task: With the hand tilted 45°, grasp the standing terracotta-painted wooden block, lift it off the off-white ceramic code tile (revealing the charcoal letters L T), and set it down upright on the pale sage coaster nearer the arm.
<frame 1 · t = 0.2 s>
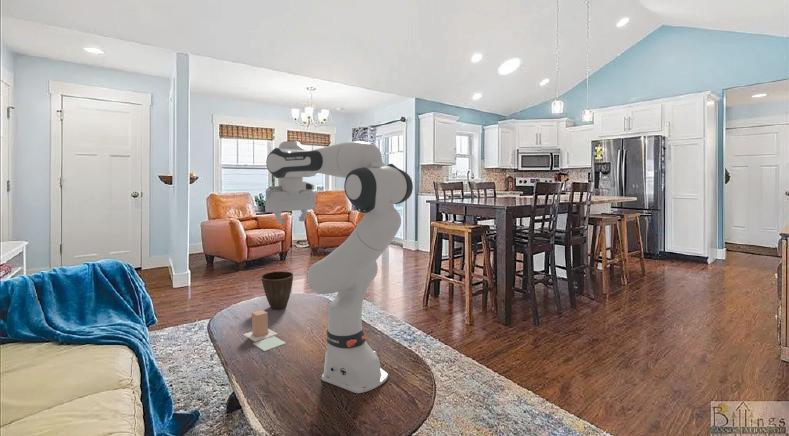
hand: (291, 222, 145), 47 cm above the table, tool pointing down, fingers open, 8 cm apart
code tile: (260, 334, 157), on the table
coaster: (269, 344, 148), on the table
plant pot: (278, 307, 189), on the table
block: (260, 333, 157), resting on code tile
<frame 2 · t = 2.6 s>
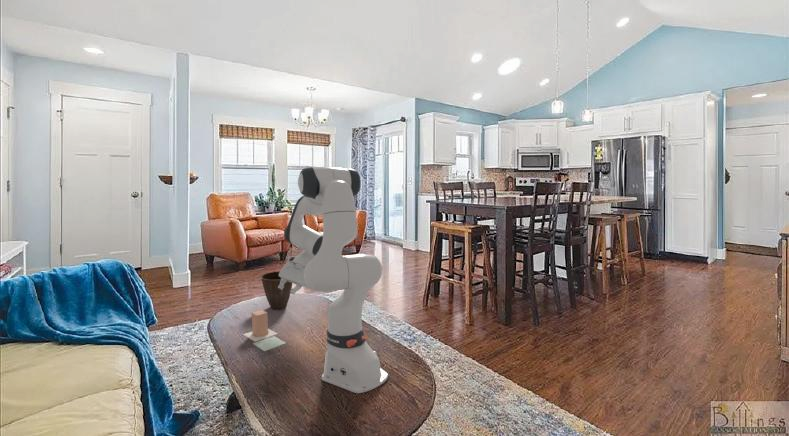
hand: (285, 291, 164), 16 cm above the table, tool tilted 45°, fingers open, 8 cm apart
nothing on the table moved.
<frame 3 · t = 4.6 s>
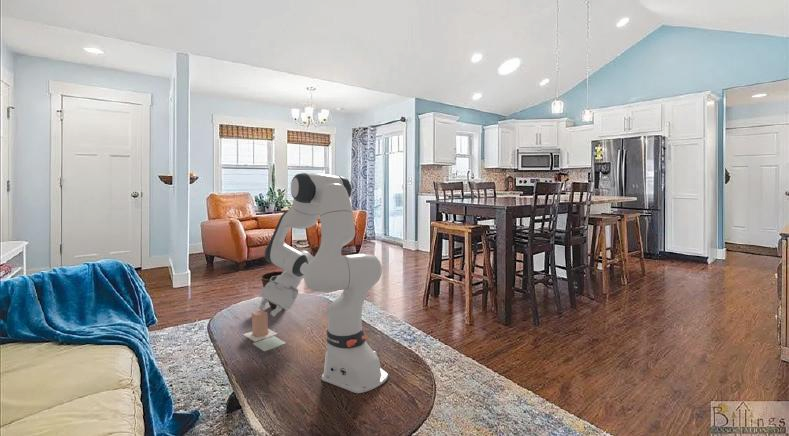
hand: (266, 312, 159), 8 cm above the table, tool tilted 45°, fingers open, 8 cm apart
nothing on the table moved.
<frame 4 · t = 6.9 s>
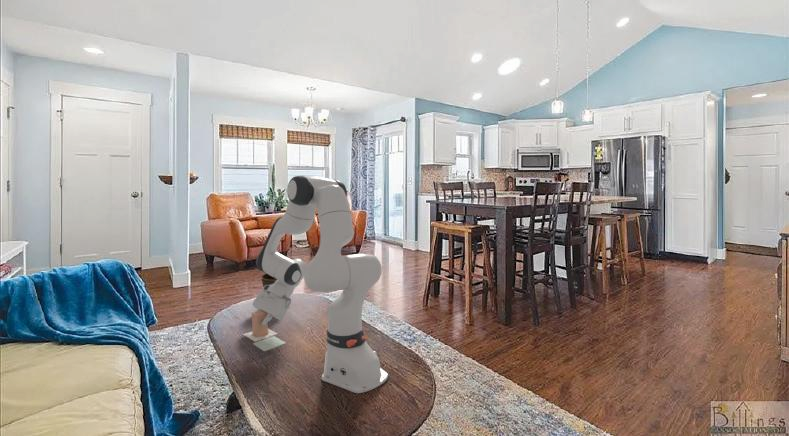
hand: (258, 322, 156), 5 cm above the table, tool tilted 45°, fingers closed on block, 4 cm apart
block: (260, 333, 157), resting on code tile, touching gripper
everything else where it was.
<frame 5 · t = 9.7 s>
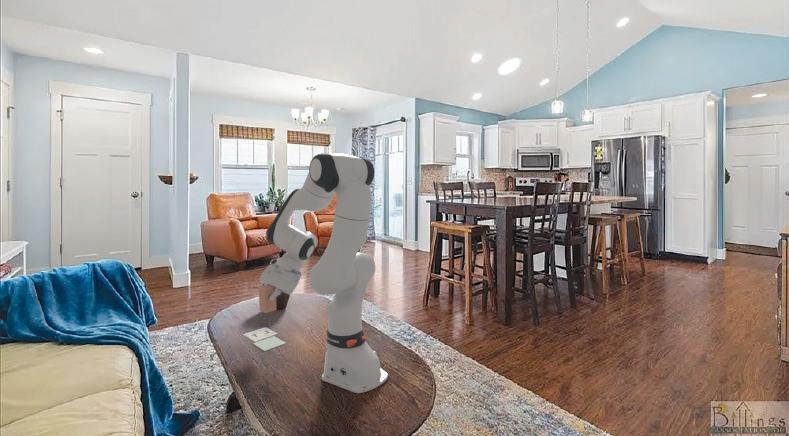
hand: (265, 297, 145), 19 cm above the table, tool tilted 45°, fingers closed on block, 4 cm apart
block: (268, 310, 146), point 14 cm above the table, touching gripper
everything else where it was.
when the fingers open (7 cm above the table, at t = 12.5 s): block drops 1 cm, resting on coaster.
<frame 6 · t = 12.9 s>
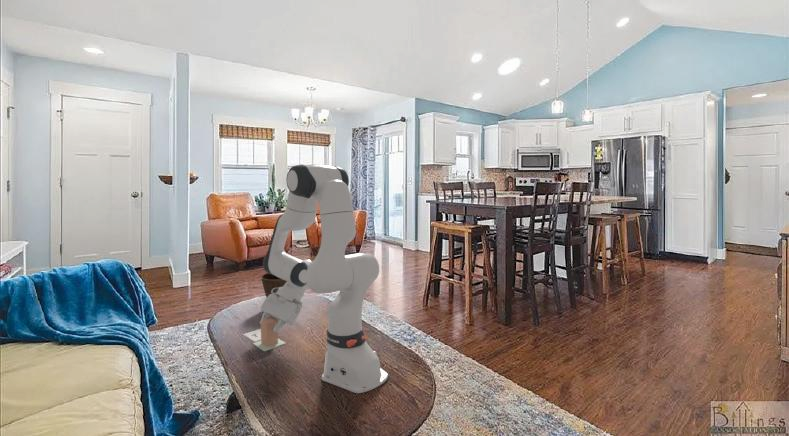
hand: (267, 327, 146), 7 cm above the table, tool tilted 45°, fingers open, 8 cm apart
block: (269, 343, 148), point 1 cm above the table, touching coaster
everything else where it was.
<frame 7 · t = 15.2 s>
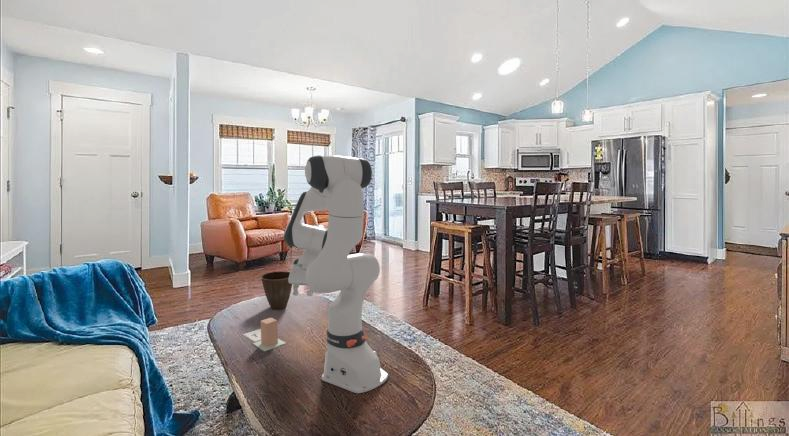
hand: (301, 295, 155), 16 cm above the table, tool tilted 30°, fingers open, 8 cm apart
nothing on the table moved.
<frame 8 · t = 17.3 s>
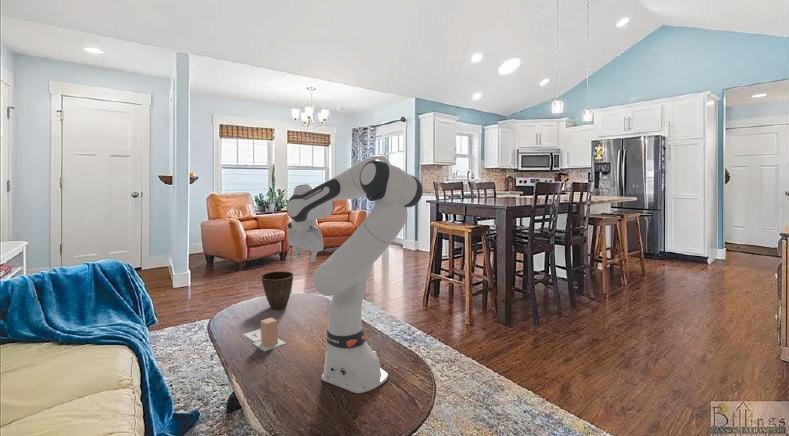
hand: (305, 259, 154), 31 cm above the table, tool pointing down, fingers open, 8 cm apart
nothing on the table moved.
at the end: block inside the target area on the coaster (0.1 cm from its centre), point 0.6 cm above the coaster's base; block tilted 0°; the gripper is holding nothing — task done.
